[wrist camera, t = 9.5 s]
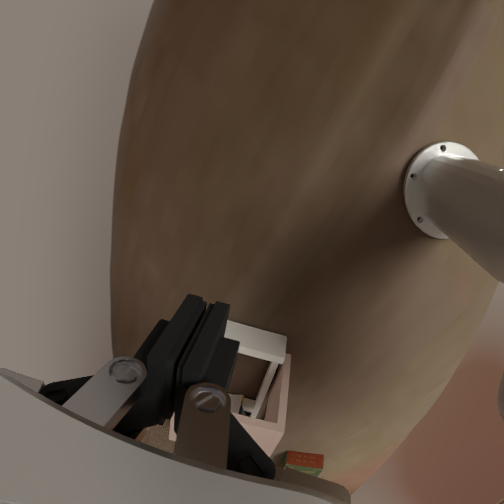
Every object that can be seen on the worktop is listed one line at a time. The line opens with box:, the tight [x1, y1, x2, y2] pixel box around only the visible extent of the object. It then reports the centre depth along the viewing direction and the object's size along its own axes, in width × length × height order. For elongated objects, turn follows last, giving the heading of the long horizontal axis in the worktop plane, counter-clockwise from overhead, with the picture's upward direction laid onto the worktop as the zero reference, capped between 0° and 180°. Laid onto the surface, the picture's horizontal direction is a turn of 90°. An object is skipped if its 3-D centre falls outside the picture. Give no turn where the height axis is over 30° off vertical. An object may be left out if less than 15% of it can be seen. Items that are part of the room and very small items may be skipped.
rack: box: [224, 320, 287, 418], centre depth 49 cm, size 10×26×5 cm, turn 166°
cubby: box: [169, 353, 291, 458], centre depth 42 cm, size 14×9×15 cm, turn 76°
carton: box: [278, 451, 324, 477], centre depth 58 cm, size 8×16×4 cm, turn 169°
